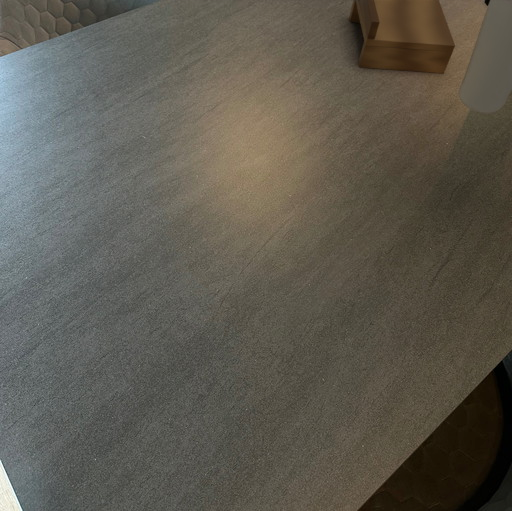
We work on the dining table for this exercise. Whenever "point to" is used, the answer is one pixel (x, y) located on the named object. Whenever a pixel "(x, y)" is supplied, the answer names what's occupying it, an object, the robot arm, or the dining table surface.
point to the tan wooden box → (403, 35)
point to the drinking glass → (490, 61)
